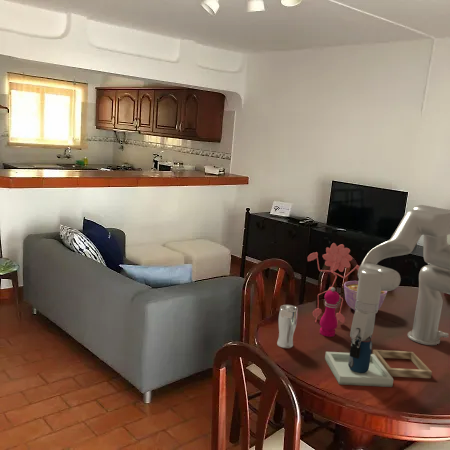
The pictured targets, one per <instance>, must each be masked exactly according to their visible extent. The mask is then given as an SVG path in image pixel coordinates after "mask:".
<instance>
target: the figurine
mask: <svg viewBox="0 0 450 450" xmlns="http://www.w3.org/2000/svg"><path fill="white" fill-rule="evenodd" d="M325 252H326V253H324V254H322V258H323V260H324V265H325V266H326V267H330V268H329V270H327V269H320V264H319V257H318V256H319V253H318V252H317V251H316V252H312V253H310V254H309V255H308V256H307V257H306V258H307V262H311V261H314V260H316V261H317V262H316V263H317V269H318V271H319V272H326V273H331V274H333V275H334V276H335V278H334V280H333V282H332V285H331V286H330V287H328V289H327V290H325V291H323V292H320V293H318V294H317V308H315V309H314V310H313V311H312V316H313V317H314V319H315V321H314V322H315V324H316V323H317V321H318V317H319V316H321V314H322V315H323V314H324V313H325V312H324V313H323V312H322V309H321V308H319V306H320V305H319V299H320V298H319V296H320V295H322V294H324V293H326V292H327V291H331V288H332V287H334V286H335V285H334V284H335V283H336V280H337V278H338V277H340V278H342V279H345V278H347V277H348V276H349V275H350V274H351V273H353V272H354V271H355V270H357V271H358V270H359V267H360V265H358V264H356V266H355V267H354V268H353V269H351V270H350V272H348V273H347V274H346V275H345V276H343V275H341V274H339V273H337V272H335V271H337V270H338V271H339V272H340V273H343V272H344V271H345V269H349V268H351V263H350V262H351V261H352V260H353V256H352V255H350V252H351V249H350V248H348V247H345V245H344V244H343V243H342V244H339V245H337V244H336V243H335V242H333V243H332V244H331V245H330V247H326V248H325ZM339 297H340V299H341V303H340V308H339V312H335V315H336V319H337V323H338V324H339V323H341V324H343V325H344V324H345V322H346V318H345V316H344V314H342V313H341V311H342V307H343V301H344V299H343V297H341V295H339ZM338 324H337V326H338Z"/></svg>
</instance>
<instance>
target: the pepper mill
mask: <svg viewBox="0 0 450 450" xmlns="http://www.w3.org/2000/svg"><path fill="white" fill-rule="evenodd" d="M331 287H332V286H331ZM326 291H327V290H326ZM339 296H340V293H338V292H337V291H336V288H335V287H334V286H333V287H332V288H331V291H327V292H325V294H324V296H323V297H324V300H325V302H324V306H325V310H324V314H322V316H321V318H320V320H319V326H320V328H319V334H320V335H322V336H324V337H328V338H331V337H335V335H336V329H337V328H338V325H337V324H339V322H338V323H337V318H336V309H337V308H338V303H339V301H340V299H341V298H340V297H341V296H340V297H339Z"/></svg>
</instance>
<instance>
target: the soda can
mask: <svg viewBox="0 0 450 450" xmlns="http://www.w3.org/2000/svg"><path fill="white" fill-rule="evenodd" d="M358 338H361V337H358ZM356 341H357V342H358V343H359V341H358V340H356ZM360 347H361V350H360V356H359V359H357V358H354V357H351V356H350V355H349V362H348V366H349V368H350V370H351V371H353V372H355V373H359V374H364V373H366V372H367V371H368V369H369V364H370V357H371V354H372V351H373V342H372V338H370V337H368V338H367V339H366V340H364V341H362V342H361V345H360Z"/></svg>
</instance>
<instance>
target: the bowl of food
mask: <svg viewBox="0 0 450 450" xmlns="http://www.w3.org/2000/svg"><path fill="white" fill-rule="evenodd" d="M358 282H359V280H350V281H345V282H344V284H343V290H344V291H343V292H344V299H345V301H346V304H347V306H348V307H350V309H352V310H353V311H354V312H355V311H356V309H355V303H356V296H357V289H358ZM387 293H388V291H381V293H380V300H379V306H378V311H379V310H380V309H381V308H382V306H383V303H384V301H385V298H386V296H387Z"/></svg>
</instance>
